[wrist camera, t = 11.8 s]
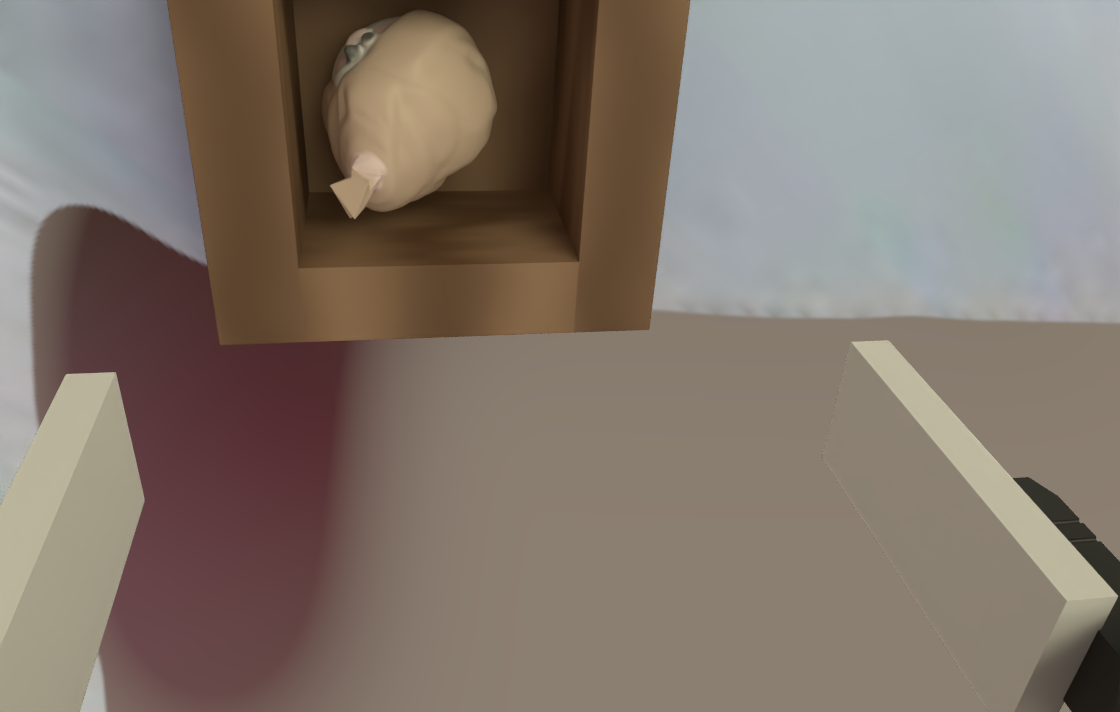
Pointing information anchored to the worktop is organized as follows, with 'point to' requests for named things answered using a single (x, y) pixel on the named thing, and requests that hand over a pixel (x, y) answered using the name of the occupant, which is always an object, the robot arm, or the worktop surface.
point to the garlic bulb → (405, 109)
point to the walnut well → (464, 197)
